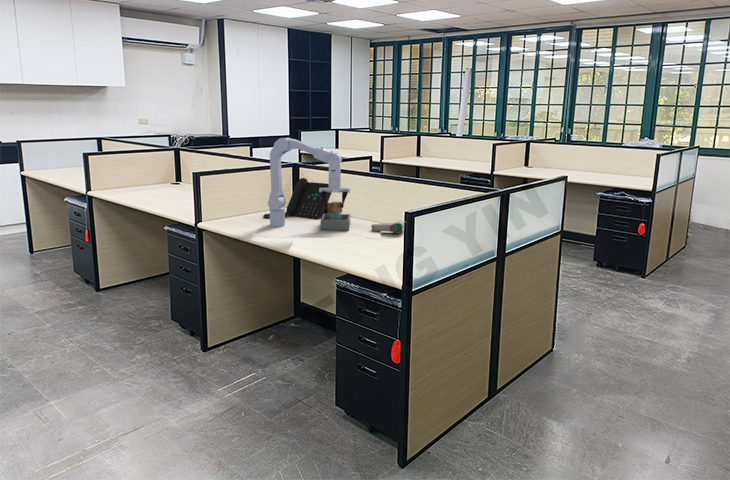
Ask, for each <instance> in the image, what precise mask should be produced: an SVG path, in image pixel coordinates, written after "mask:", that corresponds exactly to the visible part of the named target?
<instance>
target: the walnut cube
mask: <svg viewBox="0 0 730 480" xmlns="http://www.w3.org/2000/svg"><path fill="white" fill-rule="evenodd" d="M327 210H328V213H327V214H329V213H330V214H337V213H341V214H342V213H343V208H342V201H330V202H328V203H327Z"/></svg>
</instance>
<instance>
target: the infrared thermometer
mask: <svg viewBox="0 0 730 480" xmlns="http://www.w3.org/2000/svg"><path fill="white" fill-rule="evenodd" d="M404 222H405V220H398V221H396V222H389V223H371V231H372V232H392V233H397V234H399V233H402V232H403V231H404V230H405V228H404Z"/></svg>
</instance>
